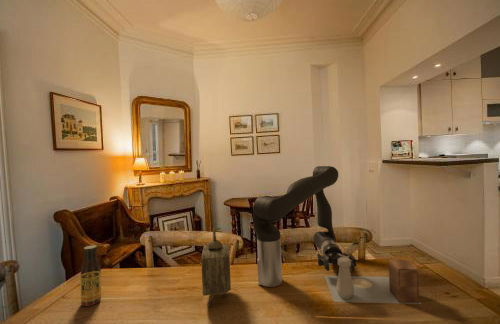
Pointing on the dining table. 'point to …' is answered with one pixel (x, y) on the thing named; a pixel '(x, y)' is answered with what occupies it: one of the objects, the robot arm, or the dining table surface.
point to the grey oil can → (215, 269)
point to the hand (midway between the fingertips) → (340, 268)
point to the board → (365, 290)
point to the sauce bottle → (90, 277)
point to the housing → (403, 281)
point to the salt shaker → (344, 279)
